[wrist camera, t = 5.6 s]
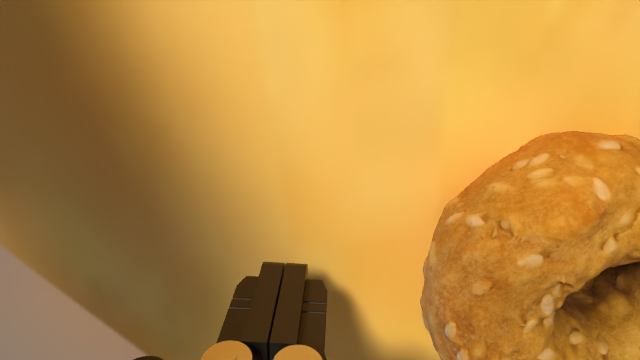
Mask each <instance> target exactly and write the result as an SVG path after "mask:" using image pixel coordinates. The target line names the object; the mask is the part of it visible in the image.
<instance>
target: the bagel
mask: <svg viewBox="0 0 640 360" xmlns="http://www.w3.org/2000/svg"><path fill="white" fill-rule="evenodd" d="M423 272H424V277H425V282H424V287H423V291H422V297H421V299H420V304H421V307H422V311H423V314H422V316H423V319H424V324H425V327H426V328H427V330H428V331H429V332H430V335H431V338H432V341H433V345H434V347H435V349H436V351H437V352H438V353H439V356H440V358H441V359H442V360H640V140H639V139H637V138H635V137H632V136H628V135H605V134H601V133H585V132H578V131H571V132H563V133H550V134H546V135H542V136H539V137H537V138H535V139H533V140H531V141H530V142H528V143H527V144H526V145H524V146H522V147H520V148H519V150H517V151H516V152H513V153H511V154H509V155H508V156H506V157H504V158H503V159H501V160H500V161H499V162H498V163H496V164H494V165H493V166H491V167H490V168H488V169H487V170H486V171H485V172H484V173H483V174H482V175H481V176H480V177H478V178H477V179H476V180H475V181H474V182H472V183H471V184H470V185H469V186H468V187H466V188H465V189H464V190H463V191H462V192H461V193H460V194H459V195H458V196H457V197H456V198H454V199H452V200H451V201H450V202H449V203H448V204H447V205H446V206H445V208H444V210H443V213H442V215H441V217H440V219H439V222H438V225H437V227H436V229H435V232H434V235H433V239H432V243H431V247H430V250H429V253H428V256H427V258H426V260H425V263H424V267H423Z"/></svg>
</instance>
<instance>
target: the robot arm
mask: <svg viewBox="0 0 640 360" xmlns="http://www.w3.org/2000/svg"><path fill="white" fill-rule="evenodd" d="M326 307H327V289H326V287H325V286H324V284H323V282H322V280H309V279H307V264H294V263H286V265H285V263H275V262H263V264H262V267H261V271H260V274H259V277H255V276H246V277H245V278H244V279H243V280H242V281H241V282H240V283H239V284H238V285H237V287H236V290H235V293H234V295H233V299H232V301H231V304H230V308H229V309H228V312H227V315H226V318H225V321H224V323H223V326H222V329H221V332H220V335H219V337H218V340H217V343H216V344H215V345H213V346H211V347H210V348H209V349H207V350H206V352H205V353H204V354H203V356H202V358H201V360H327V359H326V357H325V353H324V347H325V328H326ZM134 360H163V359H161V358H159V357H155V356H145V357H140V358H137V359H134Z"/></svg>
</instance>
